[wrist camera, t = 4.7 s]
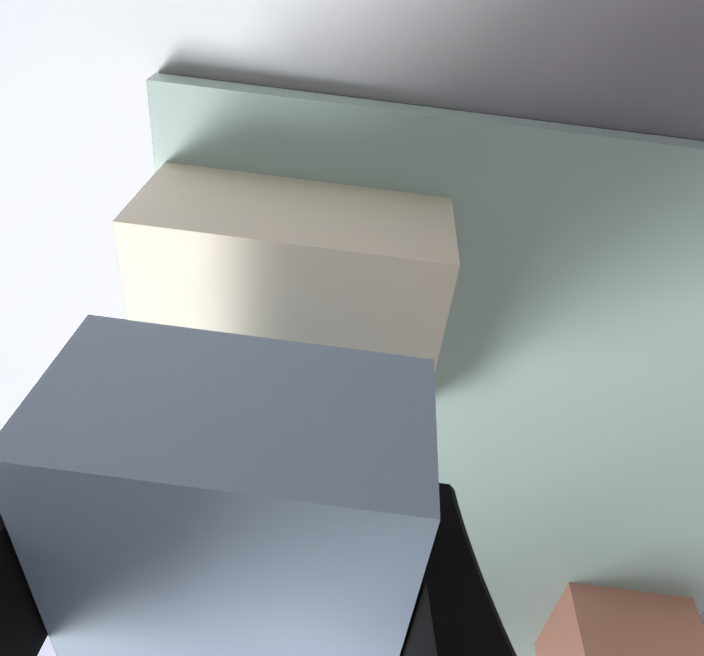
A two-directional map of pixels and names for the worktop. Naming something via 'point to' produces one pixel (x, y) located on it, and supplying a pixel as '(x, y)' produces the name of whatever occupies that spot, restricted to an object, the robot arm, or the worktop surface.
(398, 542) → the brick
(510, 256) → the baseplate
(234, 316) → the brick
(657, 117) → the worktop surface
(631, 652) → the brick
